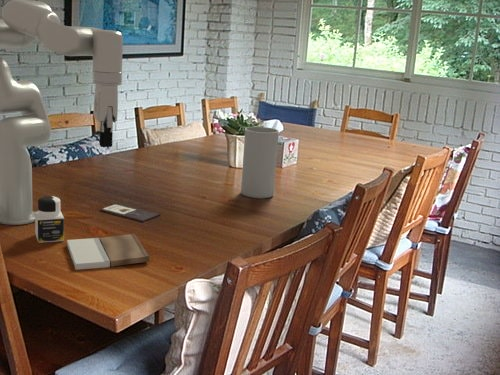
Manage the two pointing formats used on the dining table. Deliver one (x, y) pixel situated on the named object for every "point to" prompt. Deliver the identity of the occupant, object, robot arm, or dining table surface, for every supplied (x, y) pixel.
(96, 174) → the dining table surface
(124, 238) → the plank
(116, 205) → the chocolate bar
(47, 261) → the dining table surface
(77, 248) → the laid board
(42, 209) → the medicine bottle
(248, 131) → the cylinder vase
